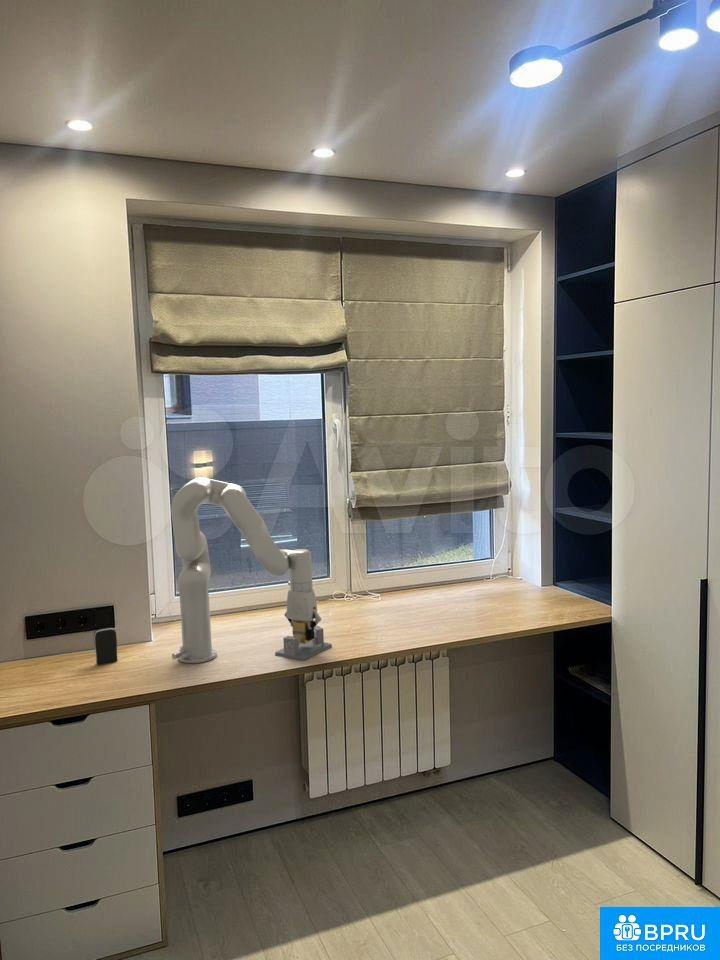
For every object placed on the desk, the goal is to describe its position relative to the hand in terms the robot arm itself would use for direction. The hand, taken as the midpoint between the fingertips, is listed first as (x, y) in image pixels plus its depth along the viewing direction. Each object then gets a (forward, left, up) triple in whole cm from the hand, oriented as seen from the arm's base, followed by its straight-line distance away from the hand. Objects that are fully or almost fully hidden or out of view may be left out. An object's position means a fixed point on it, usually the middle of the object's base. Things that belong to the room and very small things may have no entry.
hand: (303, 637), depth 241 cm
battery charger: (-40, +52, -5) cm, 66 cm away
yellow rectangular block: (0, 0, -1) cm, 1 cm away
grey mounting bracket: (0, 0, -4) cm, 4 cm away
